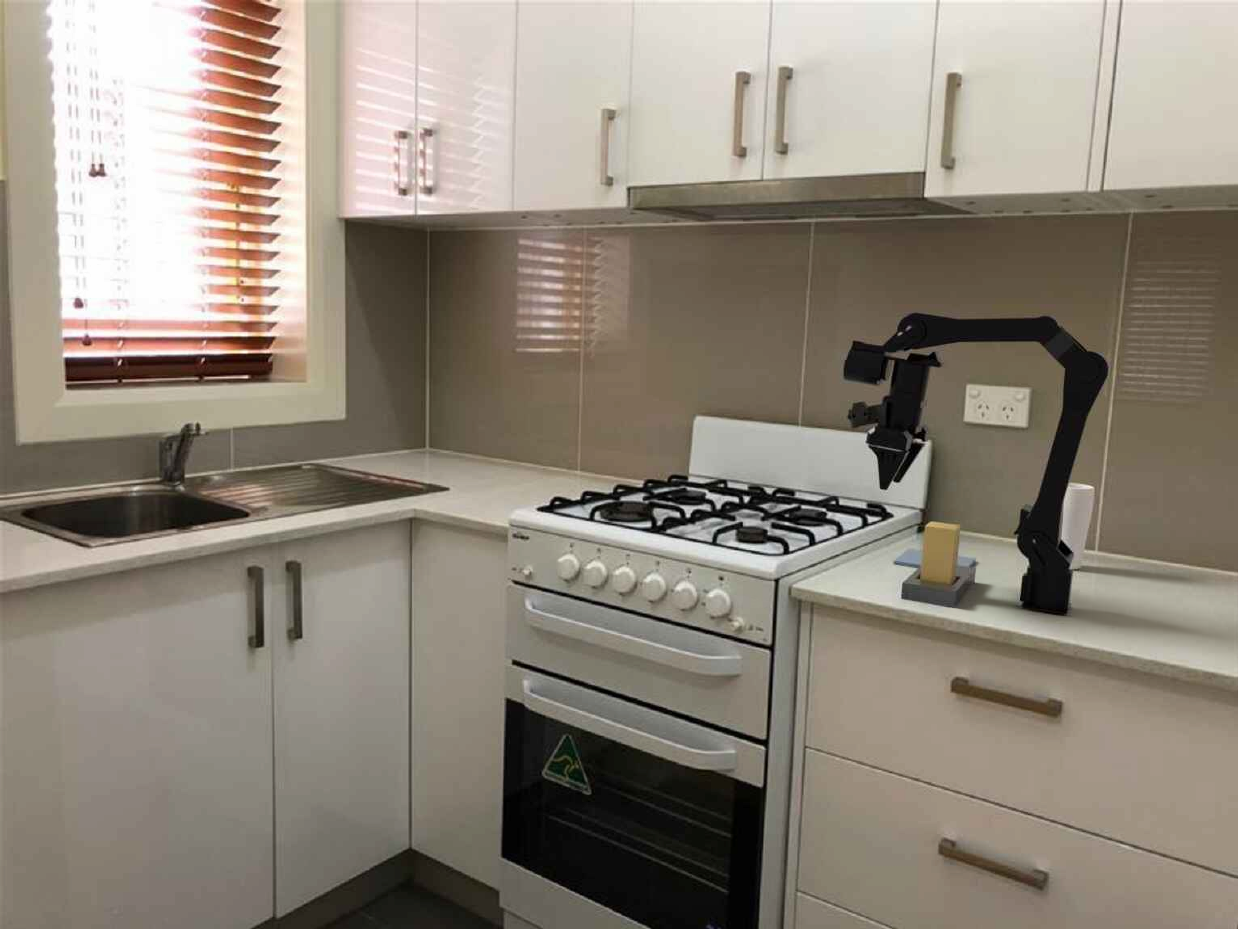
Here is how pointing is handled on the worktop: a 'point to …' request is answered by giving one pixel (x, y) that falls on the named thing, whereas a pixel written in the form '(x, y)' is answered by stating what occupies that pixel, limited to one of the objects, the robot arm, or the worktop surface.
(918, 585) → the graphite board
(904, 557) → the slate mat
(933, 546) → the mustard block
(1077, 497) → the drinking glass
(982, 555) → the worktop surface
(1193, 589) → the worktop surface
